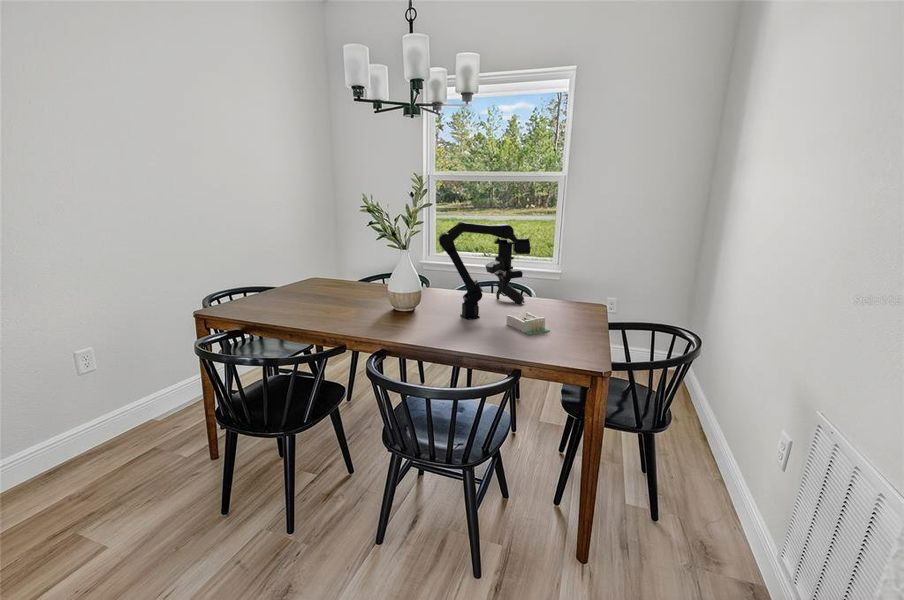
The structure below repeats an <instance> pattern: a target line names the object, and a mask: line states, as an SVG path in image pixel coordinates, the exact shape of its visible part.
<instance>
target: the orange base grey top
mask: <svg viewBox="0 0 904 600" xmlns="http://www.w3.org/2000/svg"><path fill="white" fill-rule="evenodd" d="M520 319H521V320H523V321H525V320H529V319H533V317H530V316H528V317H526V316H524V317H523V318H520Z"/></svg>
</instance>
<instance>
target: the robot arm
mask: <svg viewBox="0 0 904 600" xmlns="http://www.w3.org/2000/svg"><path fill="white" fill-rule="evenodd" d="M463 233H469V234H470V233H472V234H481V235H482V234H483V235H490V236H494V237H496V239H495V240H494V241H493V243H494V244H496V245H497V246H498V249H497V250H498V251H497V255H496V256H495V259H494V260H493V261H490V262H488V263H486V264H485V265H484V266H485V268H486V272H487V273H490V274H491V275H494V276H496V277H497V278H498V282H500V285H501V288H502V290H505V289H506V287H507V285H509V284H510V282H511V280H512V279H520V278H523V274H524V273H523V270H520V269H517V268H516V269H514V266H513V265H512V260H514V258H515V257H514V256H512V254H513V253H515V255H530V254H531V249H532V247H531V241H530V238H529V237H524V238H517V236H516V235H515V234H514V233H515V230H514V228H513V227H512V226H511V225H510V224H507V223H497V224H483V223H473V222H464V221H458V223H457V224H456V225H454V226H453V227H452V228H450V229H449V230H447V231H444V232H442V233H440V235H439V237H438V243H439V245H440V247H441V248H442V249H443V250H444V252H446V254H447V255H448V256H449V257H450V260H451V261H452V263H453V265H454V267H455V268H456V271H457V272H458V274H459V276H460V278H461V279H462V281H463V283H464V286H465V289H466V293H464V294H463V296H462V298H463V302H461V314H459V315H460V317H462V318H464V319H465V320H473V319H479V318H481V316H479V313H480V312H479V311H480V307H479V302H480V301H481V300H482V298H483V291H484V290H483V289H482V286H481V285H480V284H479V282H478V280H477V279H475V281H474V280H473V278H472V276H471V274H470V273H469V272H468V270H467V268H466V266H465V264H464V262H463V261H462V258H461V257H460V255H459V252H458V251H457V248H456V244H455V240H456V239H457V238H459V237H460V236H461V235H462V234H463ZM508 240H509V241H508ZM512 252H513V253H512Z"/></svg>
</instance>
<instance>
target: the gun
mask: <svg viewBox="0 0 904 600" xmlns="http://www.w3.org/2000/svg"><path fill="white" fill-rule="evenodd" d="M497 288H498V289H497V291H496V295H495V297H496V300H498V299H499V300H500V295H501V296H503V297H508V298H509V299H510V300H511V301H512V302H513V303H514V304H516V303H517V304H516V305H522V303H523V304H525V302H526V301H525V297H524V295H522V294H521V293H520V292H519V291H518V290H517V289H516V288H514V287H513V286H511V285H510V284H508V285H507V287H506V289H505V290H502V288H501V285H500V281H498V283H497Z"/></svg>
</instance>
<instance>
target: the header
mask: <svg viewBox="0 0 904 600" xmlns="http://www.w3.org/2000/svg"><path fill="white" fill-rule="evenodd" d="M528 316H530V317H533V319H529V320H525V321H523V320H521V319H522V318H519V317H517V316H515V315H510V314H507V315H506V326H510V327H513V328H514V329H516V330H518V331H520V330H521V332H522V333H524V334H526V335H527V336H529V335H530V336H536V335H539V334H545V333H548V332H549V333H550V331H551V330H550V329H549V328H546V327H545V326H546V317H544V316H540V317H539V316H537V315H534V314H532V313H531V312H530V311H526V312H525V317H528Z"/></svg>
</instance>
